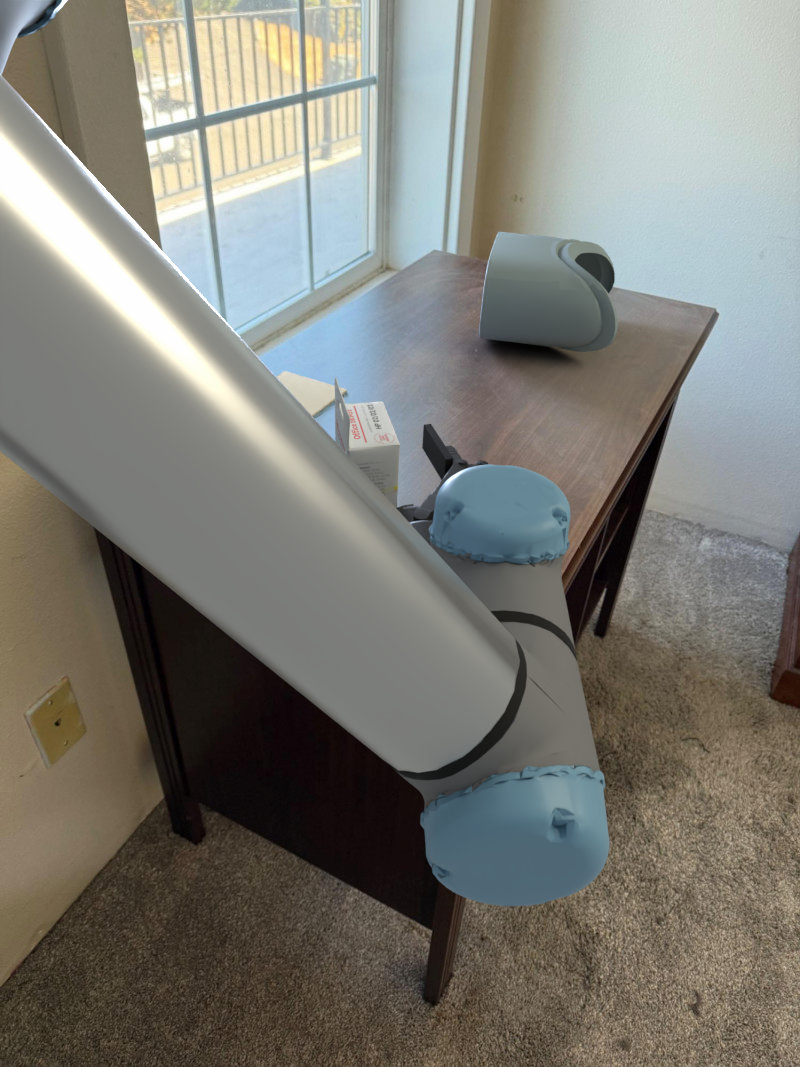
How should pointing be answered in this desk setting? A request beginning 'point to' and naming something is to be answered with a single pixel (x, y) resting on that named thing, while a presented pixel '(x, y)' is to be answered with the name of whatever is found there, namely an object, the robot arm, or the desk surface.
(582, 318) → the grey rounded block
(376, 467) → the ink box
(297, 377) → the mat
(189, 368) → the robot arm
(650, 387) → the desk surface
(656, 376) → the desk surface
